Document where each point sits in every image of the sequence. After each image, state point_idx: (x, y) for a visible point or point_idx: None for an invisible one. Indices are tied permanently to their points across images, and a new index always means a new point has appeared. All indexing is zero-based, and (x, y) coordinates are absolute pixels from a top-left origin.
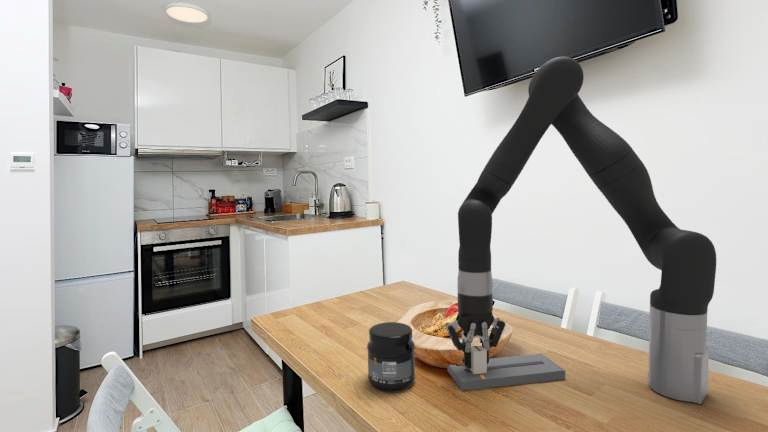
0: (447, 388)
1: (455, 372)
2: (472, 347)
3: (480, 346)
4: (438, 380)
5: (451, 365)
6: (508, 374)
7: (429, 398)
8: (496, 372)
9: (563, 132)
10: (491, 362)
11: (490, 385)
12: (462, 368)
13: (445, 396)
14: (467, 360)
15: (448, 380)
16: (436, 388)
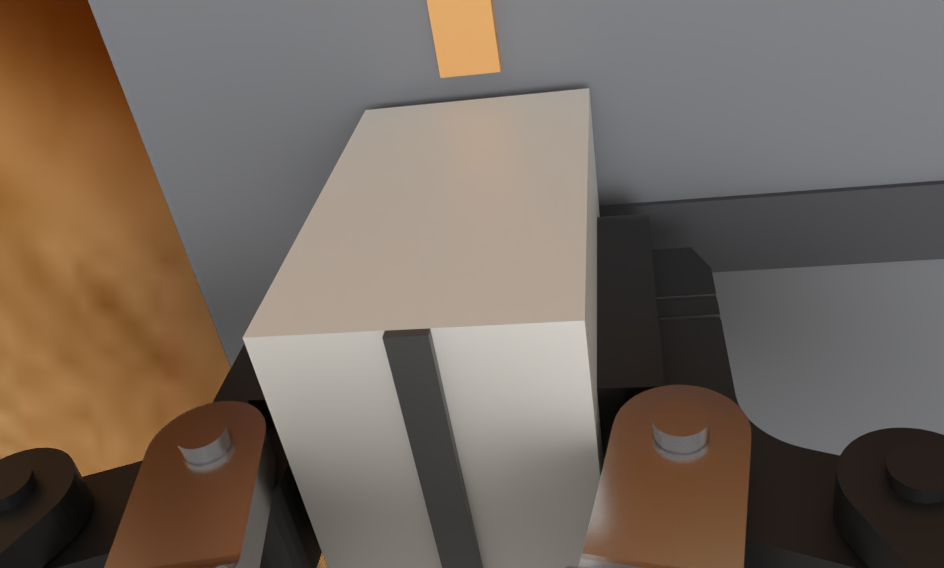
0: (158, 333)
1: (207, 285)
2: (379, 552)
3: (565, 538)
4: (46, 174)
5: (151, 83)
6: (900, 413)
7: (8, 445)
8: (766, 352)
9: None
10: (874, 45)
11: None
12: (314, 195)
13: (143, 440)
14: None
15: None
16: (46, 320)
